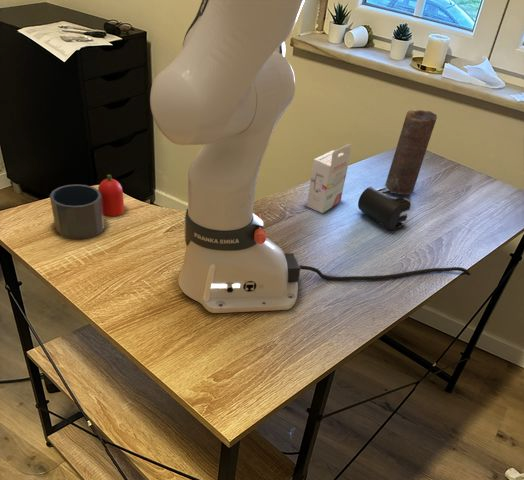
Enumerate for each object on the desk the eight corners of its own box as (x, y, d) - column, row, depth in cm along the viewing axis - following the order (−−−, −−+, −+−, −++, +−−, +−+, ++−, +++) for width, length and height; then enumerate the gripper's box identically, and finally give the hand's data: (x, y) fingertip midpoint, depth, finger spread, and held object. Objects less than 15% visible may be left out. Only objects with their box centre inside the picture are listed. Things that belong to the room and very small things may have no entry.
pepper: (126, 206, 118) (123, 171, 112) (121, 217, 114) (119, 181, 109) (103, 204, 117) (99, 169, 112) (98, 215, 114) (94, 179, 108)
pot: (108, 217, 113) (105, 186, 109) (98, 240, 106) (95, 209, 102) (62, 213, 113) (57, 182, 108) (49, 236, 106) (43, 204, 101)
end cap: (354, 215, 126) (360, 188, 122) (374, 209, 130) (381, 182, 125) (384, 234, 121) (392, 207, 116) (405, 227, 124) (413, 201, 120)
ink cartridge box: (323, 195, 132) (335, 136, 122) (340, 202, 130) (353, 143, 120) (304, 206, 127) (315, 145, 117) (322, 214, 125) (334, 152, 115)
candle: (414, 200, 136) (440, 120, 122) (386, 197, 135) (409, 116, 122) (409, 187, 141) (433, 109, 128) (382, 184, 141) (403, 105, 128)
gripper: (279, 98, 104) (270, 166, 114) (210, 68, 114) (207, 133, 123) (256, 103, 101) (249, 173, 110) (187, 72, 110) (186, 138, 119)
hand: (226, 151), depth 117 cm, fingers closed on pot lid, 2 cm apart
